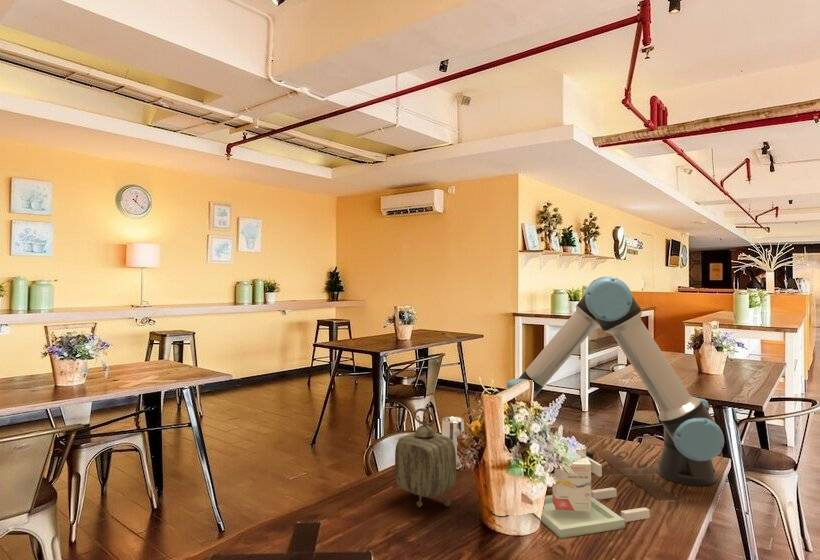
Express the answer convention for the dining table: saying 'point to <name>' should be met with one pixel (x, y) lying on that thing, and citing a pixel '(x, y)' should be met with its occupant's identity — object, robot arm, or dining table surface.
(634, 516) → the cartridge bay
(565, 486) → the ink cartridge box
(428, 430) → the tabletop clock
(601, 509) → the sage tray
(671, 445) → the robot arm
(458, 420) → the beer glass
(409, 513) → the dining table surface
